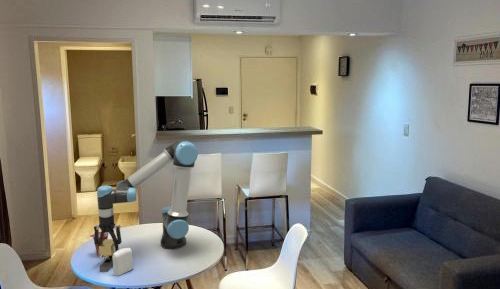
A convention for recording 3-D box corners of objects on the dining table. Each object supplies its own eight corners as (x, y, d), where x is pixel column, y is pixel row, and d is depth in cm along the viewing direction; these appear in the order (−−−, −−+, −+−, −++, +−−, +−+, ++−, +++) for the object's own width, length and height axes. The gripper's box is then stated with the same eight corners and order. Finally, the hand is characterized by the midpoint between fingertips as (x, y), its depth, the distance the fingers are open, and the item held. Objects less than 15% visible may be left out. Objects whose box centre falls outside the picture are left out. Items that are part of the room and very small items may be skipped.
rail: (112, 256, 229) (111, 251, 228) (119, 256, 229) (118, 251, 228) (99, 272, 211) (99, 266, 210) (107, 272, 211) (106, 266, 210)
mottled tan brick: (118, 254, 223) (117, 239, 222) (112, 261, 215) (111, 246, 213) (106, 253, 224) (105, 239, 222) (99, 261, 215) (98, 246, 213)
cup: (105, 249, 237) (104, 230, 235) (112, 254, 231) (111, 234, 229) (89, 254, 231) (88, 234, 228) (96, 259, 225) (94, 239, 222)
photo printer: (117, 276, 206) (115, 254, 204) (112, 274, 209) (110, 251, 206) (134, 269, 214) (133, 247, 211) (129, 266, 216) (128, 245, 214)
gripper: (126, 212, 218) (129, 253, 222) (90, 212, 219) (93, 252, 223) (122, 217, 211) (124, 259, 215) (85, 217, 211) (88, 259, 216)
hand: (109, 256), depth 219 cm, fingers closed on mottled tan brick, 6 cm apart
